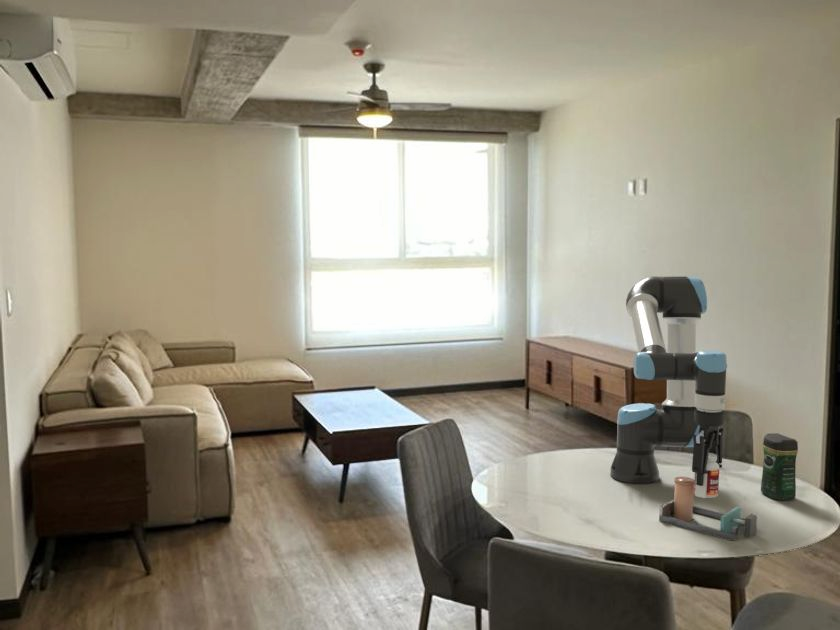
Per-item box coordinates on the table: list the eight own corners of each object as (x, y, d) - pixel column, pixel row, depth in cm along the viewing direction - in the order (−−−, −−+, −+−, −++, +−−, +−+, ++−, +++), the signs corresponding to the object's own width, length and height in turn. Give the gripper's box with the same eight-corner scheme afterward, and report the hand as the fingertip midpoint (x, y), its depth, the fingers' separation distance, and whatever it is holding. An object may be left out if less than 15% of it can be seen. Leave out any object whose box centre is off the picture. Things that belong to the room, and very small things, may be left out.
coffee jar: (800, 500, 229) (803, 438, 227) (776, 502, 227) (779, 440, 225) (779, 490, 238) (782, 430, 236) (755, 491, 237) (758, 431, 235)
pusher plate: (720, 535, 202) (721, 516, 201) (737, 524, 210) (737, 506, 209) (744, 541, 198) (745, 522, 197) (761, 530, 205) (761, 511, 205)
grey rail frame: (659, 520, 212) (659, 506, 212) (681, 508, 222) (682, 494, 221) (733, 541, 198) (734, 525, 198) (754, 526, 208) (755, 512, 207)
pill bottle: (713, 500, 205) (715, 459, 204) (690, 495, 209) (691, 454, 208) (721, 494, 210) (723, 454, 209) (698, 489, 214) (700, 450, 213)
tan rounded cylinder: (669, 517, 214) (671, 479, 213) (678, 512, 218) (679, 475, 217) (687, 522, 211) (689, 483, 210) (696, 517, 215) (697, 479, 213)
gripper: (707, 417, 198) (704, 505, 200) (738, 405, 211) (734, 488, 214) (679, 412, 203) (676, 498, 205) (710, 401, 217) (707, 482, 219)
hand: (706, 493), depth 209 cm, fingers closed on pill bottle, 6 cm apart
